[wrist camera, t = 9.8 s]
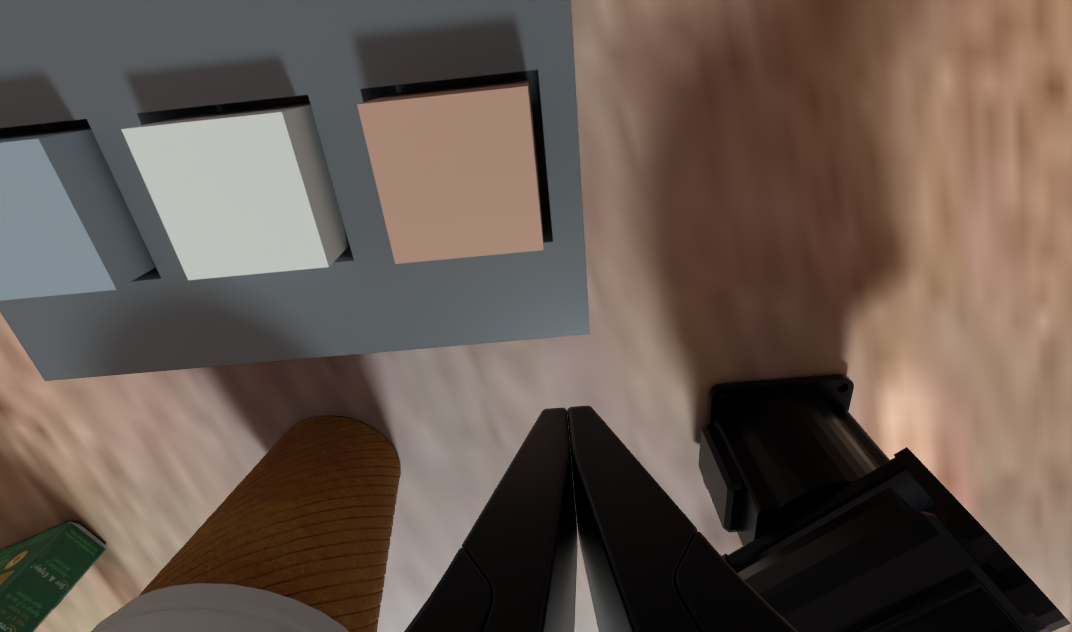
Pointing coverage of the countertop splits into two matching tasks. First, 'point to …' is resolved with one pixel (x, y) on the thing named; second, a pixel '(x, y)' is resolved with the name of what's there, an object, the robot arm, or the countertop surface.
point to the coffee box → (43, 574)
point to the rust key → (456, 170)
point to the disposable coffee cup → (285, 543)
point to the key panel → (333, 91)
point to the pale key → (242, 190)
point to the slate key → (63, 218)
